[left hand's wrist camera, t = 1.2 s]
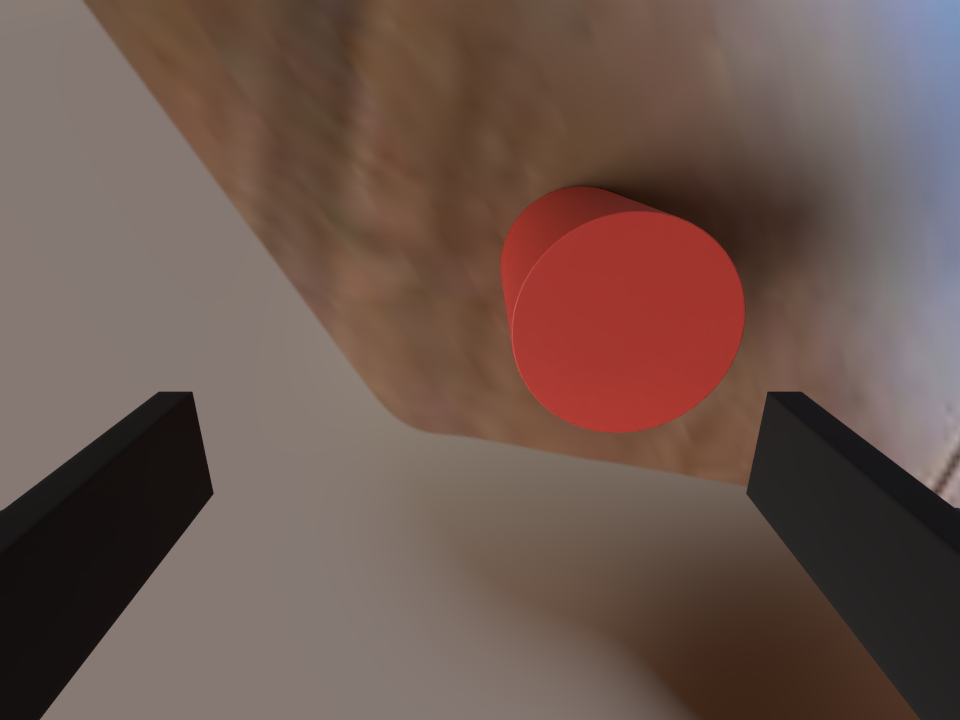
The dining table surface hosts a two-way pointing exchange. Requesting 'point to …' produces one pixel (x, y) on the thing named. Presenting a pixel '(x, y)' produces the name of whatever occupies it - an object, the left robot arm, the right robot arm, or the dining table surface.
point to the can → (618, 309)
